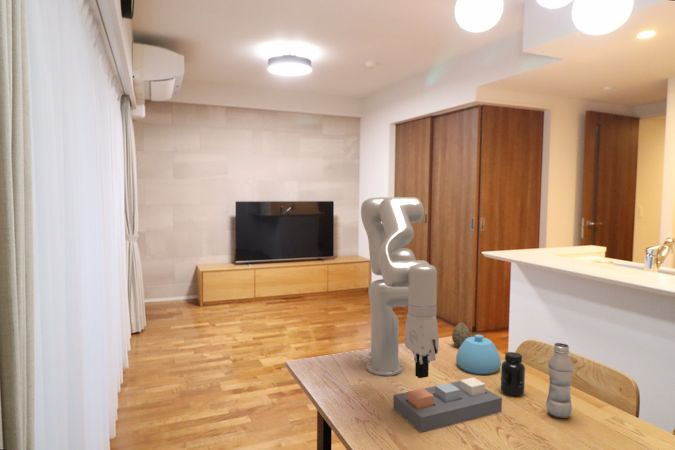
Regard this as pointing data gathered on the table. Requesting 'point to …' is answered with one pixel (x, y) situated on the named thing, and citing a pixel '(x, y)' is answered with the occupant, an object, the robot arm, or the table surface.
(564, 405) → the plastic bottle
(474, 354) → the sugar bowl
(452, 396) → the light gray button
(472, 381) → the cream button
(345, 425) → the table surface
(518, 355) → the supplement bottle
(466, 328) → the decorative egg
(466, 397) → the button panel
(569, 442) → the table surface
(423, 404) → the terracotta button
